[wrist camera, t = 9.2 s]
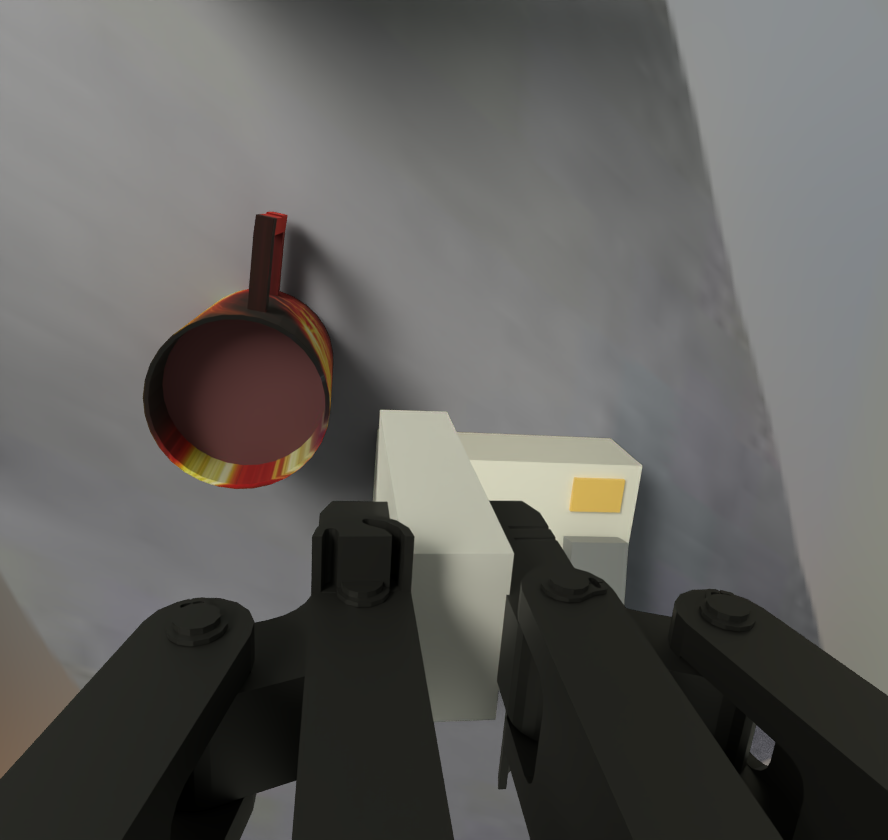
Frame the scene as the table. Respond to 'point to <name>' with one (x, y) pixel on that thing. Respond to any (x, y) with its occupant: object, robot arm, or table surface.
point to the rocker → (600, 558)
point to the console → (558, 479)
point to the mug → (244, 380)
